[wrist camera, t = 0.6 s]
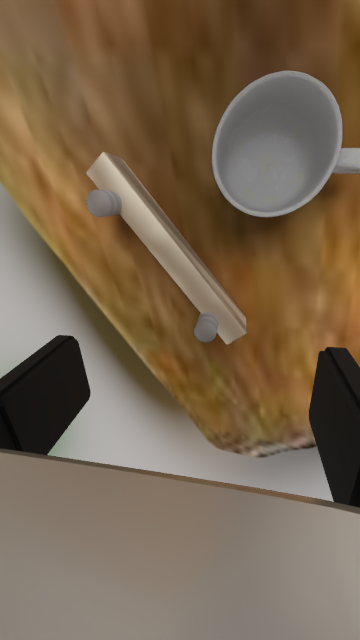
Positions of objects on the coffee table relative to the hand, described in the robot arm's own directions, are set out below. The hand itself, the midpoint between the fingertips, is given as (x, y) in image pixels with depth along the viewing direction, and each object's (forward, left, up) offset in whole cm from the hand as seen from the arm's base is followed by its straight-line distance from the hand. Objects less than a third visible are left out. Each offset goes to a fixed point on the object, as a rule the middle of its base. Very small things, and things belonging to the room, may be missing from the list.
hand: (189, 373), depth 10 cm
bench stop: (+5, -4, -27) cm, 28 cm away
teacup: (-10, -4, -28) cm, 30 cm away
